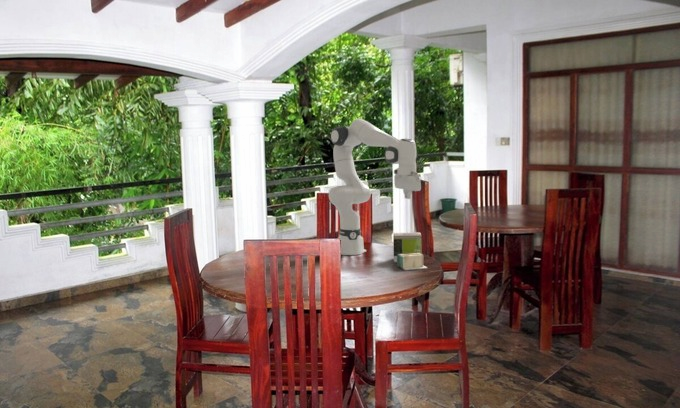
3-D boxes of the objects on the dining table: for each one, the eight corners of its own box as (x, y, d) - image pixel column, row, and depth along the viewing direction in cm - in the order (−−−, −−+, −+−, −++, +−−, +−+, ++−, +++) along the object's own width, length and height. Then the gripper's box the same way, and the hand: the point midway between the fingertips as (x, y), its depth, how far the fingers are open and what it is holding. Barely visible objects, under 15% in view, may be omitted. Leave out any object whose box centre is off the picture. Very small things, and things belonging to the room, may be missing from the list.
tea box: (421, 258, 322) (421, 231, 320) (421, 263, 312) (422, 235, 310) (393, 258, 323) (393, 231, 321) (393, 262, 313) (393, 235, 311)
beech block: (397, 254, 304) (418, 252, 307) (397, 265, 305) (418, 264, 308) (401, 256, 298) (423, 255, 301) (401, 268, 299) (423, 266, 302)
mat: (397, 265, 307) (397, 264, 307) (419, 263, 310) (419, 262, 310) (405, 270, 297) (405, 269, 297) (427, 268, 300) (427, 267, 300)
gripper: (424, 172, 289) (424, 200, 291) (402, 169, 308) (402, 196, 310) (413, 172, 287) (413, 201, 288) (392, 170, 305) (392, 196, 307)
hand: (407, 198), depth 299 cm, fingers closed
